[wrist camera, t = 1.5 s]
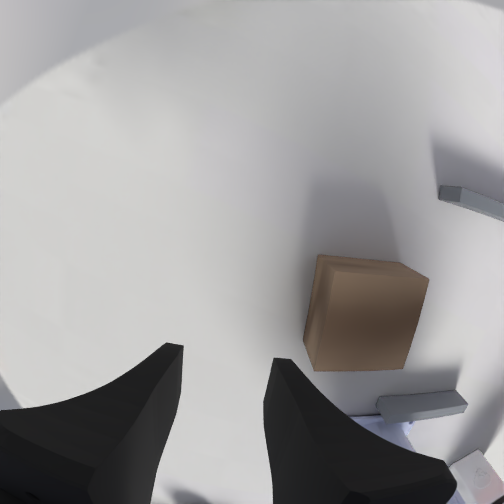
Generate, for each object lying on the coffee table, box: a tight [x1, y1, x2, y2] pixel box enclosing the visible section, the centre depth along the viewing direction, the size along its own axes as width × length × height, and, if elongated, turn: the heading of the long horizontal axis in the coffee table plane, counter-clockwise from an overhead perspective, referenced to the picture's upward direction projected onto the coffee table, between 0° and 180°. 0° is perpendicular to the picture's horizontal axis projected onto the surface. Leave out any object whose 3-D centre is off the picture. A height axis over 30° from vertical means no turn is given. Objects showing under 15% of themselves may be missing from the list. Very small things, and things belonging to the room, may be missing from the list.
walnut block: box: [303, 255, 429, 371], centre depth 18 cm, size 6×6×4 cm
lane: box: [376, 186, 504, 424], centre depth 19 cm, size 18×9×2 cm, turn 171°
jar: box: [446, 449, 504, 504], centre depth 20 cm, size 9×8×12 cm
